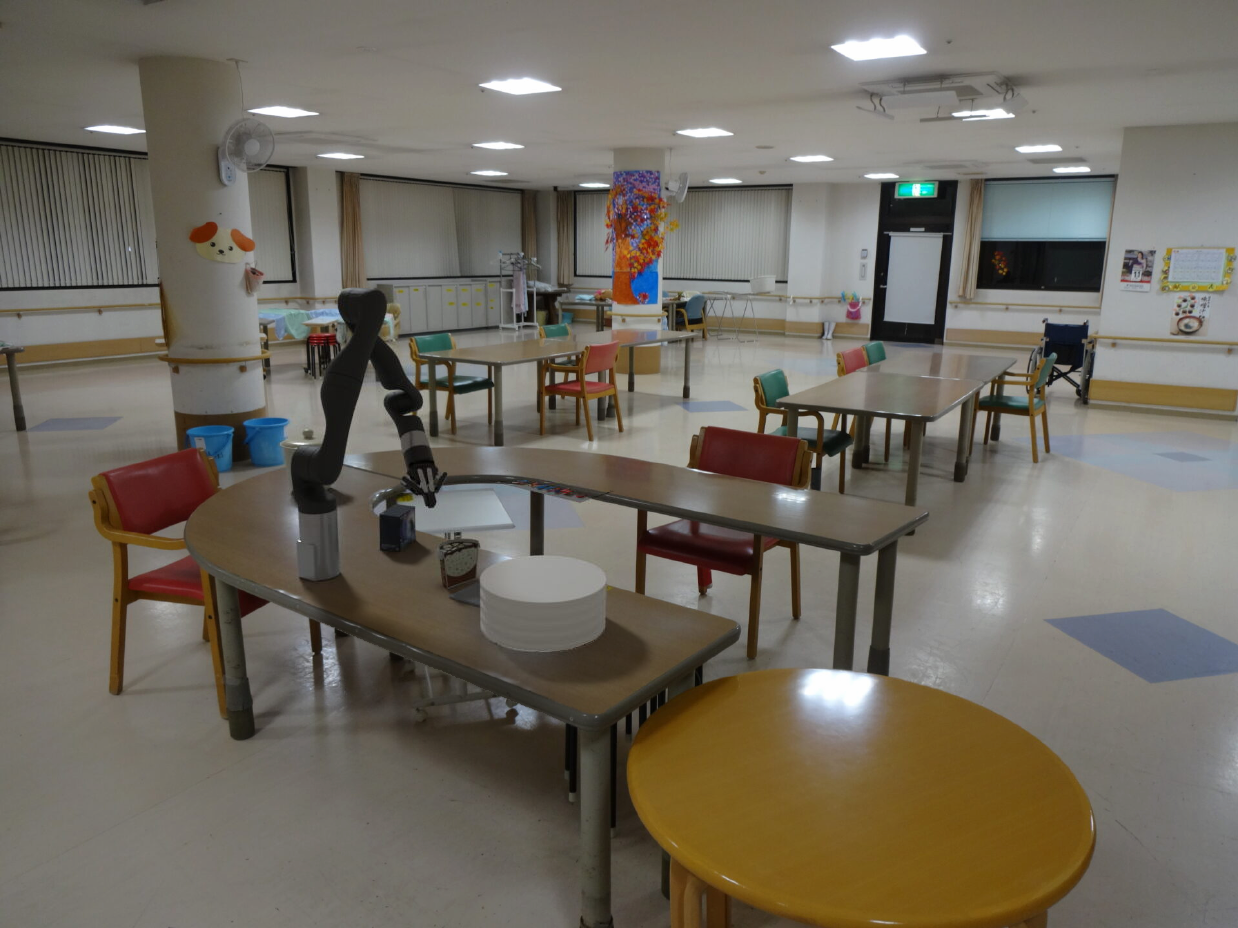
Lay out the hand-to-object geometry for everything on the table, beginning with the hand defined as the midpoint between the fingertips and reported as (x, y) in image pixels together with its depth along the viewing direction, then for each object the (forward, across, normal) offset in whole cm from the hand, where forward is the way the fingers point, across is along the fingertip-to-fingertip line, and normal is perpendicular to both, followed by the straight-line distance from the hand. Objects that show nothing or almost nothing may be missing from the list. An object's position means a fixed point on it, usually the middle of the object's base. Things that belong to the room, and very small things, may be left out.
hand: (432, 506), depth 225 cm
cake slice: (+22, 0, 0) cm, 22 cm away
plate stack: (+45, +10, -23) cm, 52 cm away
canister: (-47, -16, +69) cm, 85 cm away
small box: (0, -5, +22) cm, 23 cm away
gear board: (-29, +60, +52) cm, 84 cm away
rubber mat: (+29, +6, -7) cm, 30 cm away
